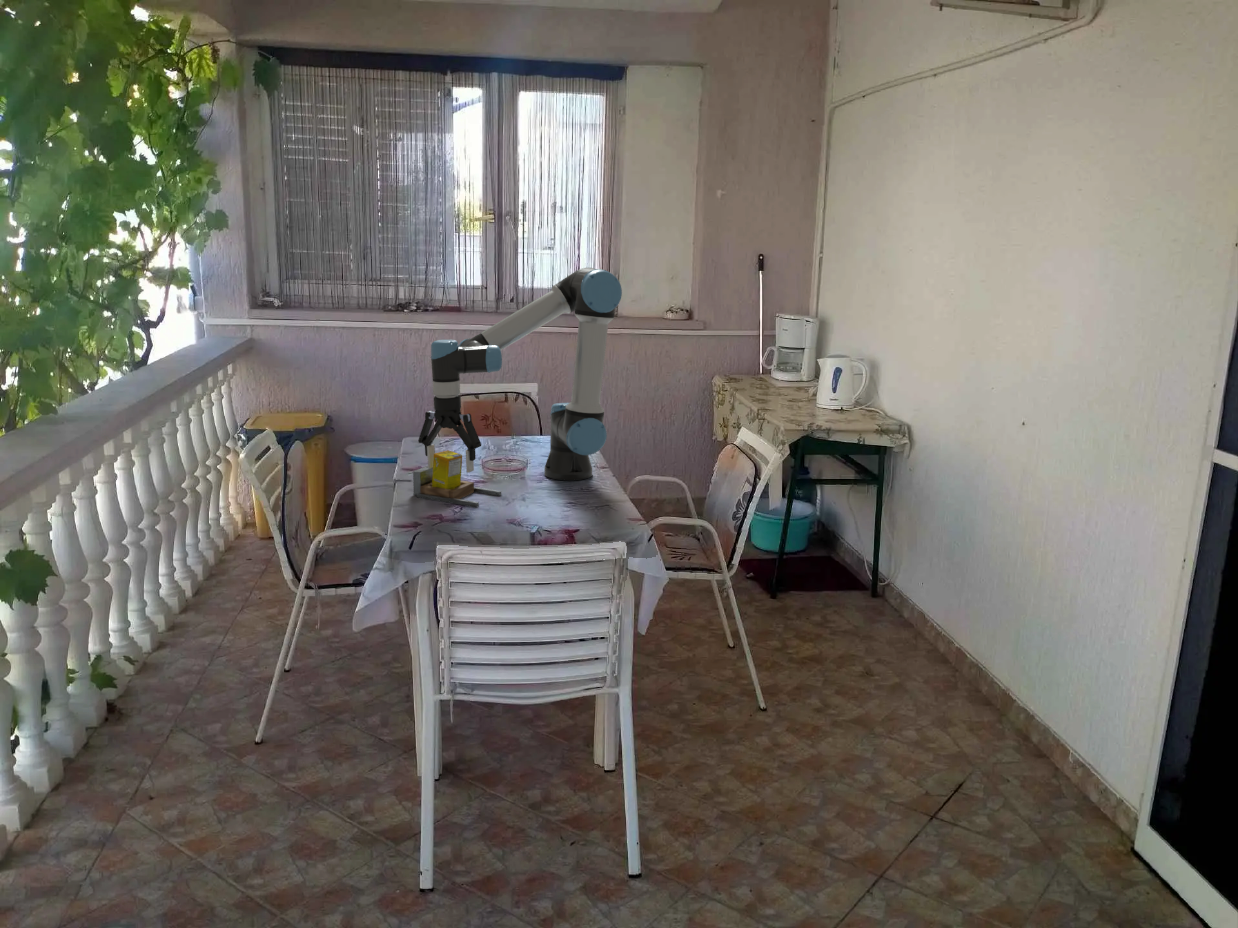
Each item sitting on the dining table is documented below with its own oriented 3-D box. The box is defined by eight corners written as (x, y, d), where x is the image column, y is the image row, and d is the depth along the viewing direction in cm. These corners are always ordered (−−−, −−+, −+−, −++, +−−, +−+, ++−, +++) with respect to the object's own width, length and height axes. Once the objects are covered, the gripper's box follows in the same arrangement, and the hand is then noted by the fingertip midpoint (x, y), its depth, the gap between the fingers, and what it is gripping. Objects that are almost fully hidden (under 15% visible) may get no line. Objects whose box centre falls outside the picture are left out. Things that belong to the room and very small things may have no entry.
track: (501, 495, 270) (501, 471, 268) (476, 507, 257) (476, 483, 256) (436, 485, 278) (436, 462, 276) (409, 496, 265) (409, 472, 264)
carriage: (473, 492, 271) (473, 482, 271) (453, 501, 262) (453, 491, 261) (441, 487, 275) (441, 477, 275) (420, 496, 266) (420, 486, 265)
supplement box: (445, 485, 272) (448, 449, 269) (460, 490, 269) (463, 454, 266) (430, 489, 267) (433, 453, 264) (446, 495, 264) (448, 458, 261)
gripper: (491, 395, 260) (494, 470, 265) (418, 390, 269) (422, 462, 275) (477, 400, 253) (480, 476, 259) (402, 394, 262) (407, 468, 268)
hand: (450, 469), depth 267 cm, fingers open, 12 cm apart
